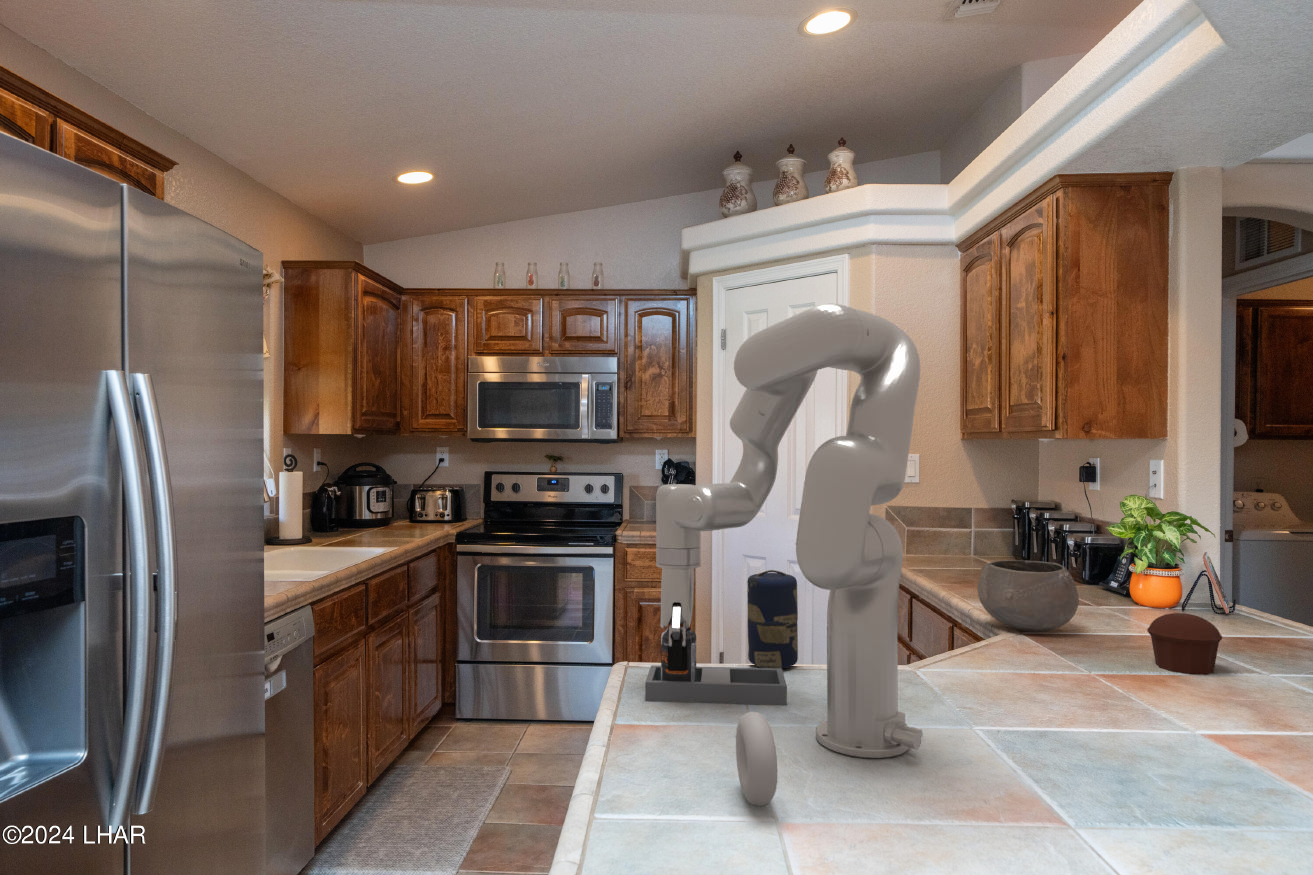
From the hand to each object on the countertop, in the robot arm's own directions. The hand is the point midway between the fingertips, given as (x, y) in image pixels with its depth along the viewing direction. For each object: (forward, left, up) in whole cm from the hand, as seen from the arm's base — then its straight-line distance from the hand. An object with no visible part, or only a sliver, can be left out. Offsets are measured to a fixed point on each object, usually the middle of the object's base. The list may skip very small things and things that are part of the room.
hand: (678, 663), depth 127 cm
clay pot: (-16, -94, -5) cm, 95 cm away
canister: (+1, -25, -5) cm, 25 cm away
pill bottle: (0, 0, -4) cm, 4 cm away
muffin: (-50, -83, -5) cm, 97 cm away
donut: (-36, +20, -5) cm, 41 cm away
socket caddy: (-4, -4, -5) cm, 8 cm away
